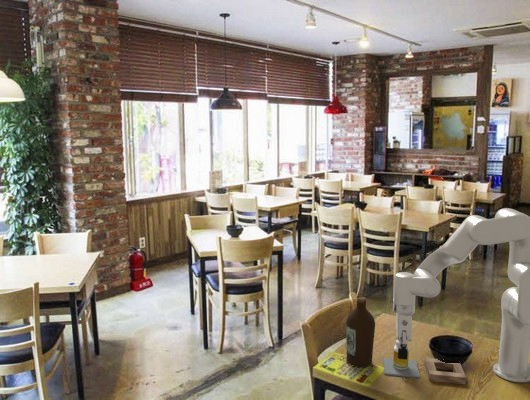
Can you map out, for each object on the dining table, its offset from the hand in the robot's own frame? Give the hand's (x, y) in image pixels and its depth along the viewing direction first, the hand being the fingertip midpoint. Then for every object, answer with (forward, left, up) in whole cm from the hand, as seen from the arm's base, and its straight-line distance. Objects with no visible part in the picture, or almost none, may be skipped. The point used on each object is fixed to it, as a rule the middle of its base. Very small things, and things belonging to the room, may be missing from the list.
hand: (401, 353), depth 171 cm
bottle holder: (-15, +1, -6) cm, 16 cm away
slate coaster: (0, 0, -6) cm, 6 cm away
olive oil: (+15, -2, -6) cm, 16 cm away
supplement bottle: (0, 0, -5) cm, 5 cm away
